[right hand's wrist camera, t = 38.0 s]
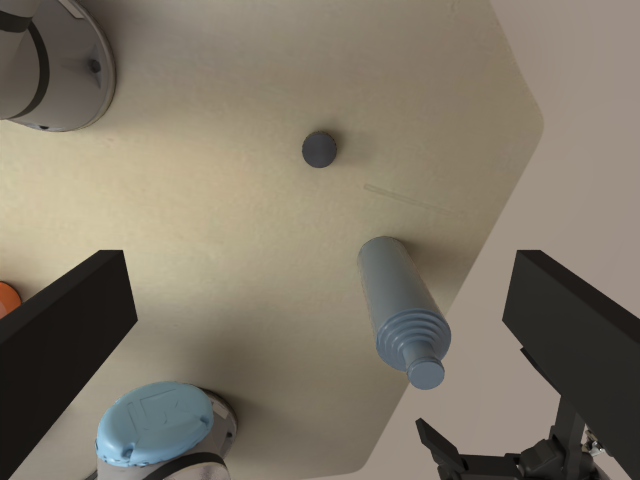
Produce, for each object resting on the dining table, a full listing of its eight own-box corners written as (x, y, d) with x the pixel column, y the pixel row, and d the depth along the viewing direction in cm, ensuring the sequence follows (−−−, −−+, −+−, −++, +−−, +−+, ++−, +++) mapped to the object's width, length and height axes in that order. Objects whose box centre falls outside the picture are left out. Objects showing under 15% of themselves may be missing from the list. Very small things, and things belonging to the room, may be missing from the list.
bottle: (417, 249, 51) (488, 361, 29) (391, 289, 53) (438, 419, 32) (373, 228, 50) (413, 327, 28) (348, 269, 52) (367, 391, 31)
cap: (297, 140, 45) (295, 142, 43) (327, 125, 45) (327, 126, 43) (311, 170, 47) (311, 174, 45) (341, 156, 46) (342, 159, 44)
